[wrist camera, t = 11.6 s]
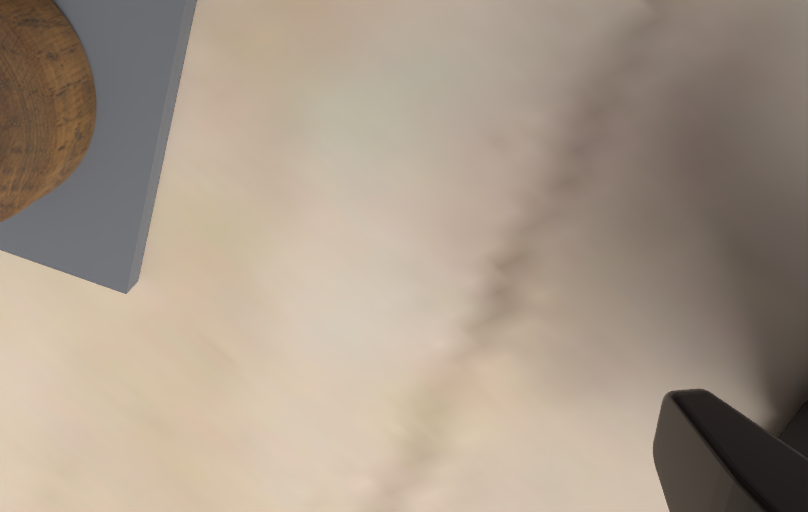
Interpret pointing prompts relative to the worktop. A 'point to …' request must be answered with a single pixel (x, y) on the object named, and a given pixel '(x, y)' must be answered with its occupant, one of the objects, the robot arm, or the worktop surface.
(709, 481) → the robot arm
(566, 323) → the worktop surface
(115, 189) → the mat
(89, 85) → the mortar and pestle
